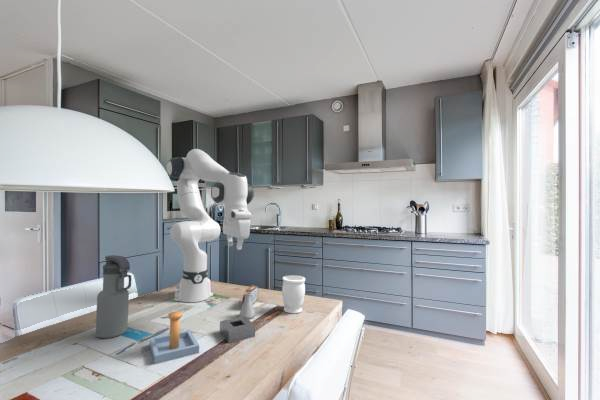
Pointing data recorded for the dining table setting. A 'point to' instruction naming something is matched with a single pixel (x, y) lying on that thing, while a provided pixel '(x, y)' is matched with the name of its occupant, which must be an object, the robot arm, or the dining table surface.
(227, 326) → the metal block with hole
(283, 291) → the jar
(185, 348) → the tray
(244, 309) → the flask
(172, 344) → the wooden peg
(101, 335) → the water bottle
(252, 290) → the tin
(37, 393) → the dining table surface
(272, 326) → the dining table surface
